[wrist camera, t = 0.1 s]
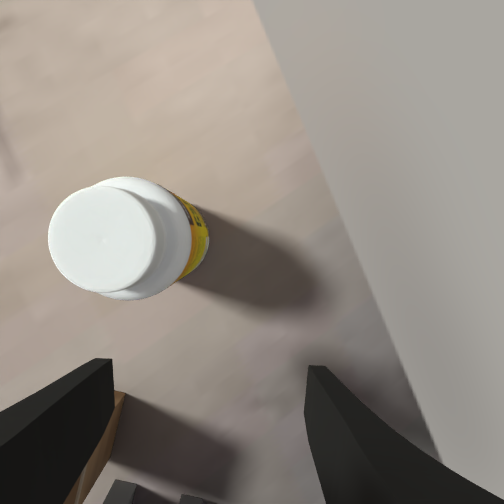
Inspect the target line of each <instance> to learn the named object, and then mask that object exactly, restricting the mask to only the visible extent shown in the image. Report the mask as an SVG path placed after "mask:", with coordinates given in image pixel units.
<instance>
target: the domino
mask: <svg viewBox="0 0 504 504" xmlns="http://www.w3.org/2000/svg"><path fill="white" fill-rule="evenodd" d="M202 501H203V499H202V498H197V497H193V496H188V495H184V494H182V495H181V499H180V503H179V504H202Z"/></svg>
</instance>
